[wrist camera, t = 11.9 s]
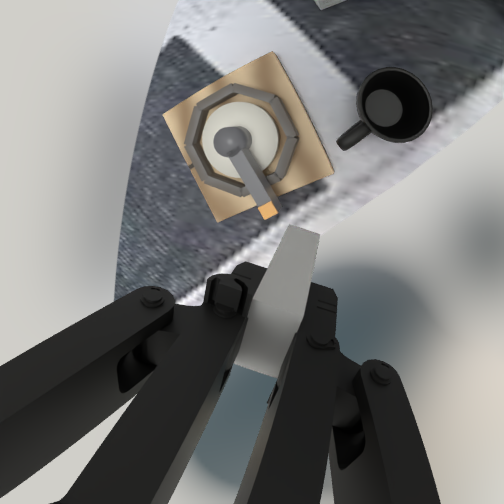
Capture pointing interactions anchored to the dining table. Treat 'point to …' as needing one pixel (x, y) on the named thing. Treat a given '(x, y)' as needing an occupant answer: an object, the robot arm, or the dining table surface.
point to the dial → (244, 149)
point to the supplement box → (327, 3)
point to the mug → (390, 108)
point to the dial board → (288, 122)
